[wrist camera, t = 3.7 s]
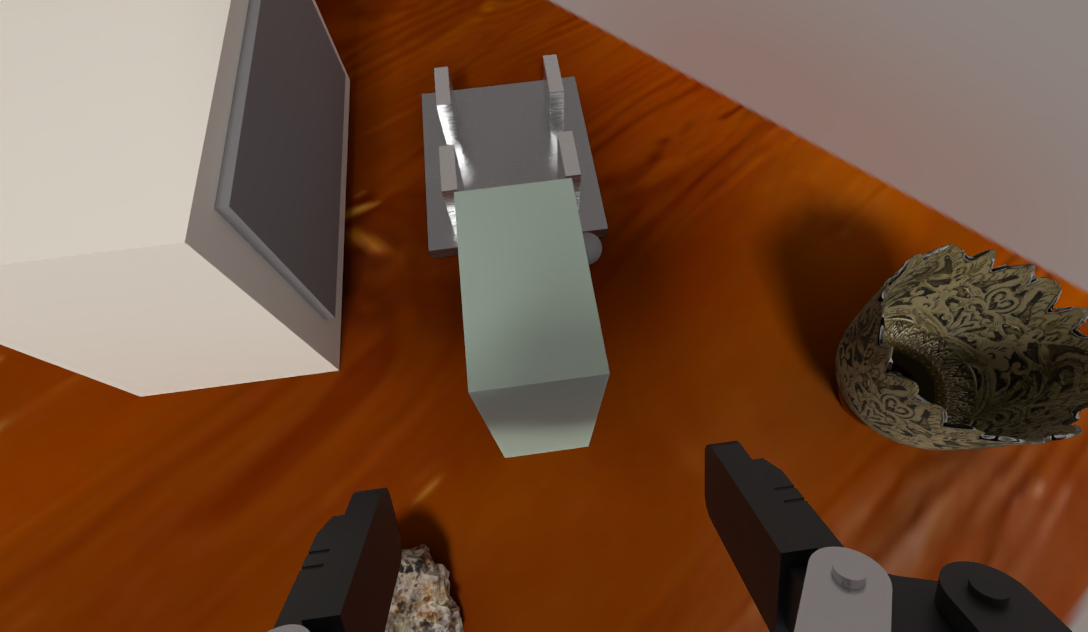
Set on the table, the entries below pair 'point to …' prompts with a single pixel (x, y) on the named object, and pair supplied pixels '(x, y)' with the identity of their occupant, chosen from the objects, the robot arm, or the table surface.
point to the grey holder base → (505, 146)
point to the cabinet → (172, 189)
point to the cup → (965, 356)
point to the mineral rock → (422, 596)
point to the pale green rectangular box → (530, 315)
